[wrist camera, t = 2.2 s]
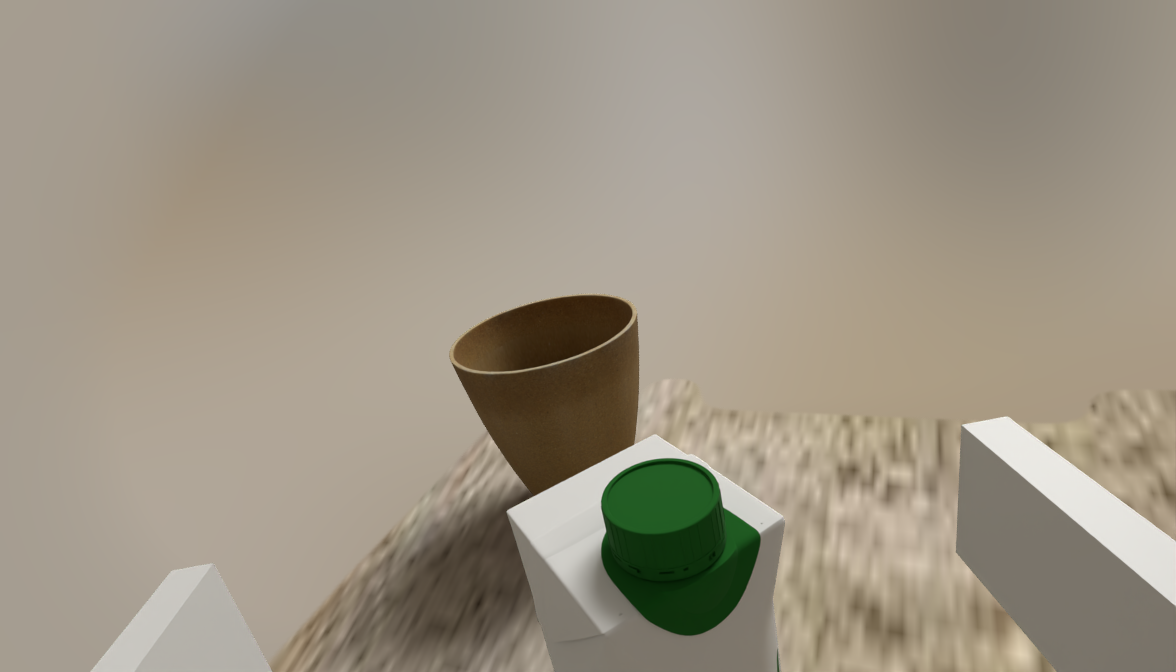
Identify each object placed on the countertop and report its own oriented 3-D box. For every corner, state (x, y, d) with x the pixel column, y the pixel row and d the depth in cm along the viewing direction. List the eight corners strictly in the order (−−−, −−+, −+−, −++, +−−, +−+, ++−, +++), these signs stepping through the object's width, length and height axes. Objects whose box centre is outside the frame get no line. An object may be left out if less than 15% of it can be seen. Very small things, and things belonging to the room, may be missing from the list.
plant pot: (692, 454, 56) (666, 290, 50) (621, 572, 45) (576, 378, 39) (556, 435, 64) (519, 291, 58) (466, 532, 52) (408, 366, 46)
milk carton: (683, 977, 24) (579, 605, 17) (575, 783, 32) (470, 465, 24) (836, 830, 28) (808, 465, 20) (706, 685, 35) (650, 381, 28)
